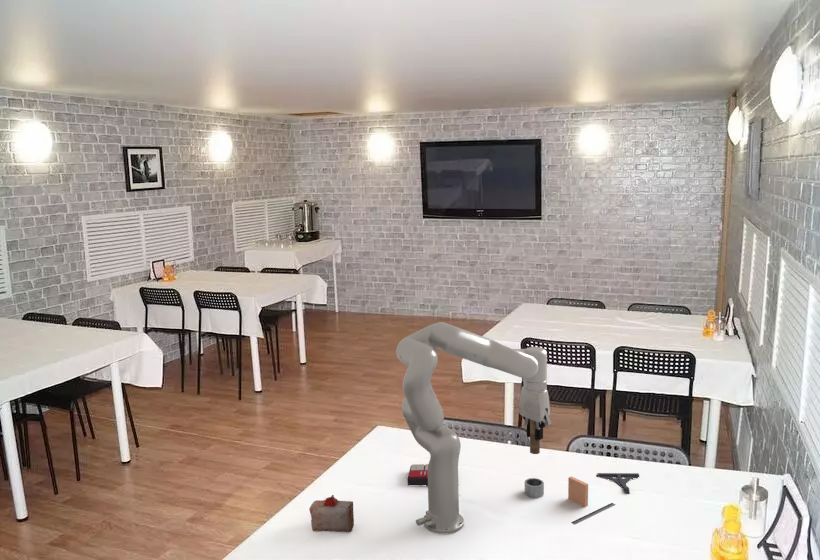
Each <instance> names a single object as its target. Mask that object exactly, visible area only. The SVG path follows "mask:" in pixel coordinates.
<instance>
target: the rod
mask: <svg viewBox="0 0 820 560" xmlns="http://www.w3.org/2000/svg"><path fill="white" fill-rule="evenodd" d="M535 429H537V428H536V421H533V420H531V419H530V437H529V453H530V454H531V455H532V454H533V455H539V454H540V452H541V440H538V441H536V440H535Z"/></svg>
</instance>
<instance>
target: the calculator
mask: <svg viewBox="0 0 820 560" xmlns="http://www.w3.org/2000/svg"><path fill="white" fill-rule="evenodd" d="M428 464H429V463H426V464H424V463H421V464H419V463H417V464H411V466H410V468H409V472H408V474H407V478H406V480H407V486H409V485H426V486H425V487H428Z"/></svg>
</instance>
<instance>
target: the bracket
mask: <svg viewBox="0 0 820 560" xmlns="http://www.w3.org/2000/svg"><path fill="white" fill-rule="evenodd" d="M596 476H597V477H598V478H600V479H605V480H608V479H609V480H608V481H612V482H614V483H615V484H617V483H618V484H617V485H619V486H620V487H621V486H622V487H621V488H623V491H624V492H625V494H626V495H630V494H631V492H630V487H629V486H627V484H628V482H630V481H631V480H630V479H632V480H634V479H633V478H636V479H639V478H640V473H638V472H637V473H636V472H635V473H634V472H632V473H631V472H629V473H627V472H625V473H623V472H622V473H621V472H620V473H617V472H615V473H613V472H602V473H601V472H598V473H596ZM638 477H639V478H638ZM617 478H618V479H617ZM629 480H630V481H629ZM626 483H627V484H626Z"/></svg>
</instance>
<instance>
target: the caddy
mask: <svg viewBox="0 0 820 560" xmlns="http://www.w3.org/2000/svg"><path fill="white" fill-rule="evenodd" d="M544 489H545V482H544V480H542V479H540V478H536V477H532V478H530V477H529V478H527V479H525V480H524V494H525V496H527V498H528V497H529V498H532V499H539V498H542V497H544V493H545V490H544Z"/></svg>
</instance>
